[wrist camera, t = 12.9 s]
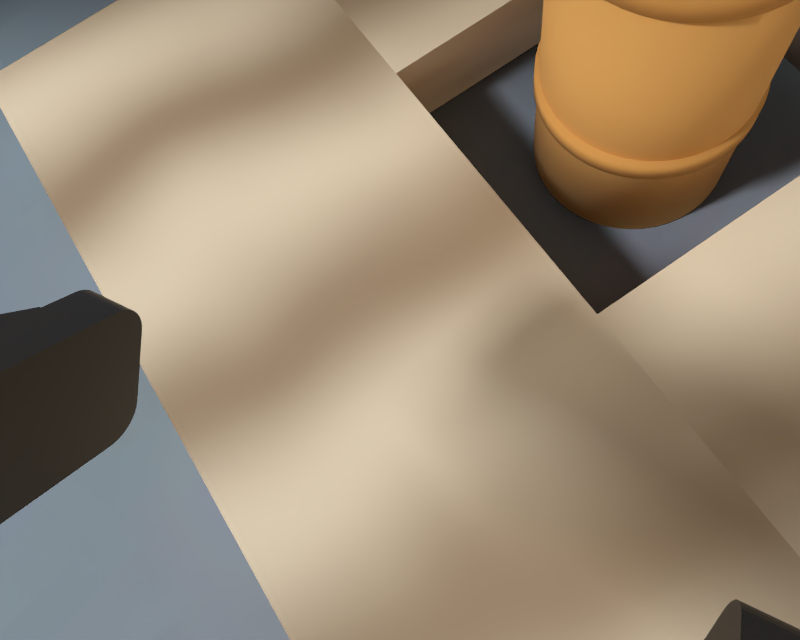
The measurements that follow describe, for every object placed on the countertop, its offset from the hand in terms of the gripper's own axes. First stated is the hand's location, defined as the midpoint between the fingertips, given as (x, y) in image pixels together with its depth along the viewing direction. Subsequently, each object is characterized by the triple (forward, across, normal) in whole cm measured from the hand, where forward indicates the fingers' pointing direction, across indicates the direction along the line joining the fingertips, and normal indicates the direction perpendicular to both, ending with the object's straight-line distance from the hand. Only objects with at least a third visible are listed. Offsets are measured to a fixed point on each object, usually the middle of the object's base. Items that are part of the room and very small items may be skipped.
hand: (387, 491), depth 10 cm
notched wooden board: (+12, +2, +1) cm, 12 cm away
